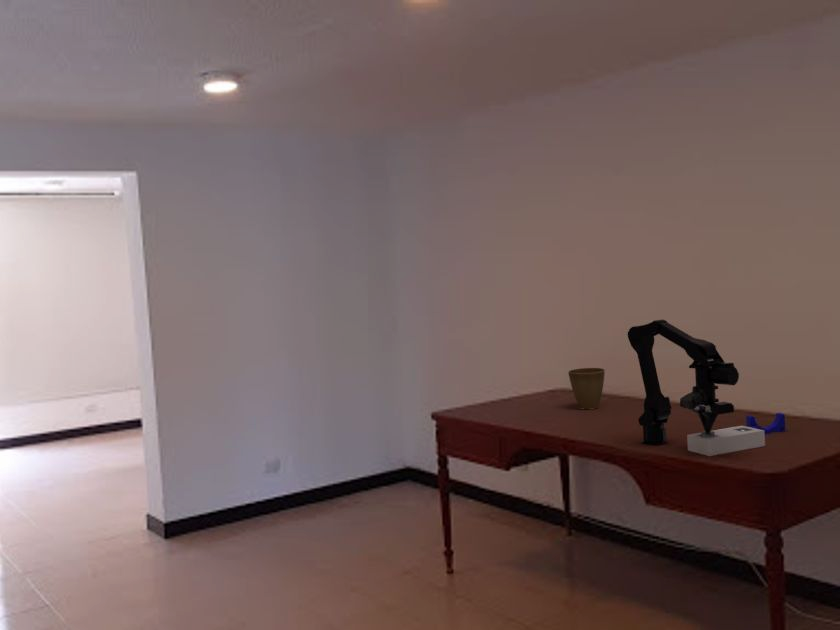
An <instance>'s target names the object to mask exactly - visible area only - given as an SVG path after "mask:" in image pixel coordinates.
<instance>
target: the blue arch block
mask: <svg viewBox="0 0 840 630" xmlns="http://www.w3.org/2000/svg"><path fill="white" fill-rule="evenodd" d="M745 417H746V427H751V428H755V429H760V430H764V432H765V435H771V434H772V433H782V432H783V433H784V432H786V419H785V418H786V415H785V413H782V412H776V413H775V418H774V420H773V422H772V423H771V424H769V425H768V426H761V425H759V424H758V423H757V422H756V417H755V416H754V415H745Z"/></svg>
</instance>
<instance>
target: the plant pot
mask: <svg viewBox="0 0 840 630" xmlns="http://www.w3.org/2000/svg"><path fill="white" fill-rule="evenodd" d="M605 370H606V369H604V368H601V367H584V368H575V369H571V370H568V371H567V373H568V378H569V382H570V385H571V389H572V392H573V395H574V397H575V400H576V402H577V405H578V407H579V409H580V408H584V409H590V408H597V407H598V408H599V406H600V403H601V398H602V395H603V389H604V382H605V381H604V380H605ZM598 408H597V409H598Z"/></svg>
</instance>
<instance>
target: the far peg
mask: <svg viewBox="0 0 840 630" xmlns="http://www.w3.org/2000/svg"><path fill="white" fill-rule="evenodd" d="M736 430H737V431H741V432H744V431H750V429H747V428H739V429H736Z"/></svg>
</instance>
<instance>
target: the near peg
mask: <svg viewBox="0 0 840 630" xmlns="http://www.w3.org/2000/svg"><path fill="white" fill-rule="evenodd" d="M700 433H701V437H705V438H710V437H715V432H714V431H713V430H710V432H705V430H704V431H700Z"/></svg>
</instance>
